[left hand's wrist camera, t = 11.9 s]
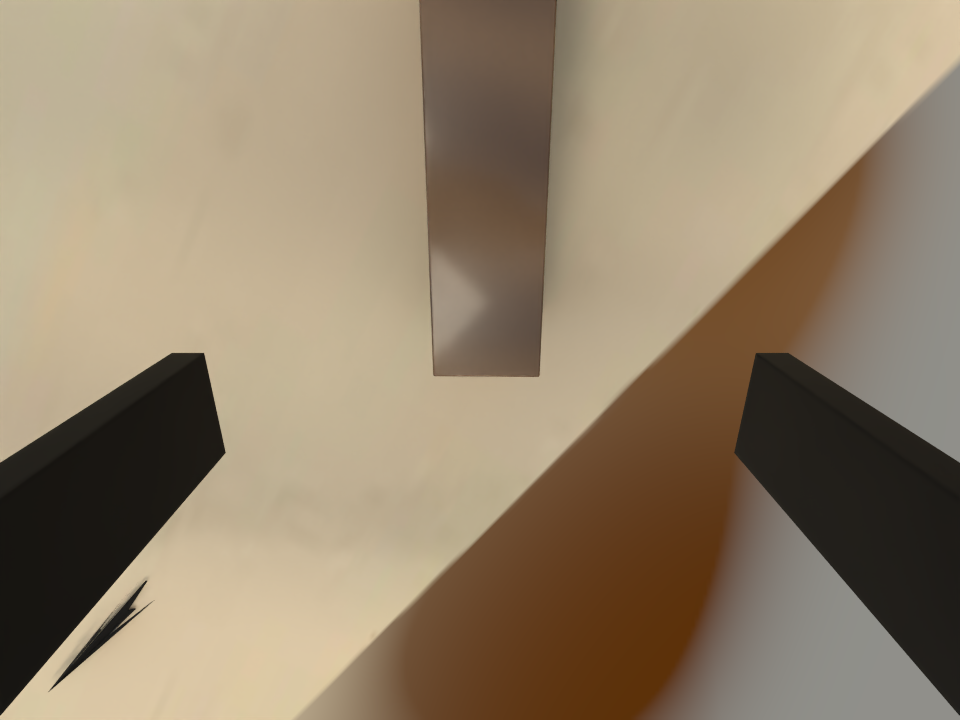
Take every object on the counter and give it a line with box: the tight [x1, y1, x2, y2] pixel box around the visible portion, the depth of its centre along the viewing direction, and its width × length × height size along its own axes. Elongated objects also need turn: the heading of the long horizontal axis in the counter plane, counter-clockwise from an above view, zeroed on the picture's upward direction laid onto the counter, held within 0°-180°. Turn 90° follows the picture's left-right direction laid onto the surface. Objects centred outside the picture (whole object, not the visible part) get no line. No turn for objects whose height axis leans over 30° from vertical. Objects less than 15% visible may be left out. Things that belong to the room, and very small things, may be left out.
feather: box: [50, 581, 153, 690], centre depth 43 cm, size 2×28×2 cm
